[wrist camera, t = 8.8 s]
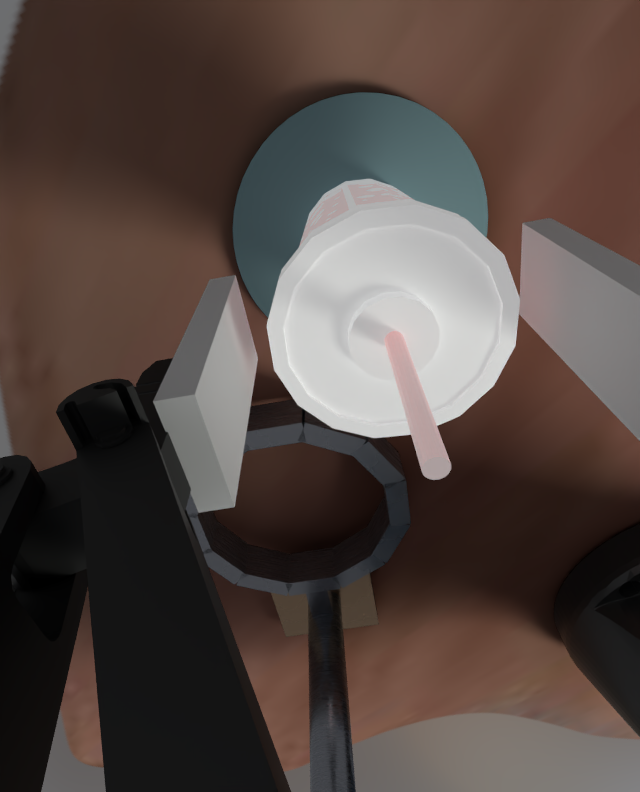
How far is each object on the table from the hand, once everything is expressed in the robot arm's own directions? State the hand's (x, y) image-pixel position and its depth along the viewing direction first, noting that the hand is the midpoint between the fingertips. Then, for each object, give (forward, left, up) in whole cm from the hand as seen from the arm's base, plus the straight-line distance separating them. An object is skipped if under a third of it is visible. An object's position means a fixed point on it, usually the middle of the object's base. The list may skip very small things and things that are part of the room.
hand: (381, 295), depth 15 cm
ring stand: (-15, +5, -7) cm, 17 cm away
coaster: (0, 0, -7) cm, 7 cm away
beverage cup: (0, 0, -6) cm, 6 cm away
